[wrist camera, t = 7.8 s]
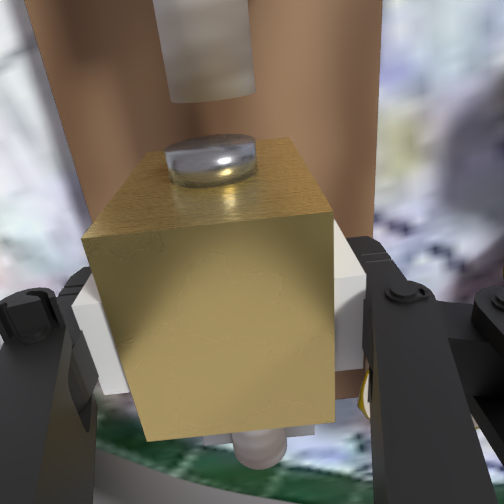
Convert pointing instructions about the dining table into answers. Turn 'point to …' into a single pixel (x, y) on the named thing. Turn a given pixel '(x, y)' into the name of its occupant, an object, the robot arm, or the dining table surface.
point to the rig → (221, 104)
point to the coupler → (220, 287)
